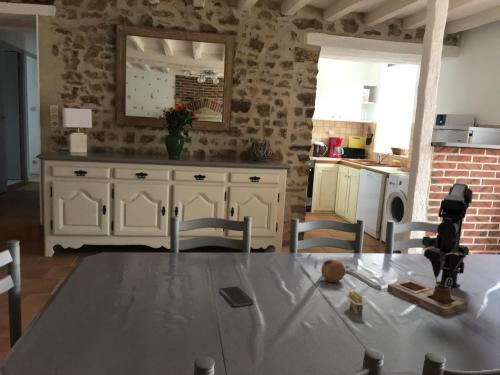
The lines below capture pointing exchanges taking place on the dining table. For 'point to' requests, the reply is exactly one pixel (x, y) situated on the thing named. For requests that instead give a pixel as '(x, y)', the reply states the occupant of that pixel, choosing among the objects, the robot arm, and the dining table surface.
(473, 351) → the dining table surface
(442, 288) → the utensil holder
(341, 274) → the onion
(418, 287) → the double window frame
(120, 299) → the dining table surface
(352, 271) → the adjustable wrench
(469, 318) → the dining table surface
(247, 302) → the phone
